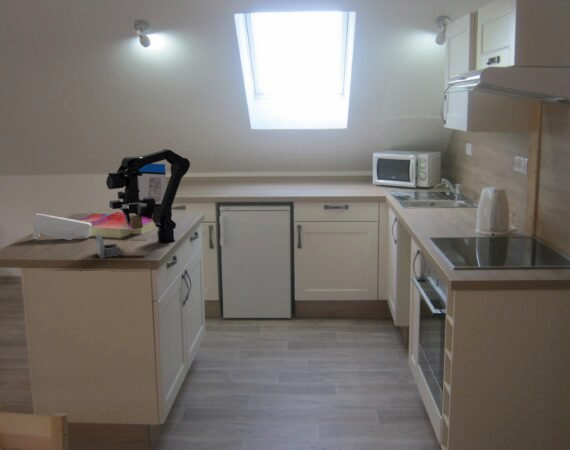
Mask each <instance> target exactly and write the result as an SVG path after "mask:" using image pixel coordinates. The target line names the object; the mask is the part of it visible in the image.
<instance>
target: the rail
mask: <svg viewBox="0 0 570 450" xmlns="http://www.w3.org/2000/svg"><path fill="white" fill-rule="evenodd" d="M129 218H130V223H128V222H127V219H126V217H125V220H126V224H128V225H129V226H130V227H132V228H133V229H137V228H143V223H142V218H141V217H139V216H138V215H136V214H135V213H130V214H129Z"/></svg>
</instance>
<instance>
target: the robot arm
mask: <svg viewBox="0 0 570 450" xmlns="http://www.w3.org/2000/svg"><path fill="white" fill-rule="evenodd" d="M161 161H167V163H169V164H170V178H169V180H168V182H167V184H166V191H165V194H164V197H163V200H162V203H161V205H160V206H159V207H155V208H154V212H153V214H152V215H153V217H152V220H153V222H154V223H155V228H157V237H156V238H157V241H158V242H159V241H160V242H159V243H160V244H164V243H165V244H166V243H174V242H176V239H175V235H174V234H175V232H174V229H176V226H177V223H176V222H175V221H174V220H173V219H172V216H173V213H172V211H173V210H172V207H173V204H174V201H175V198H176V195H177V192H178V190H179V187H180V184H181V181H182V178H183V177H184V176H185V175H186V174H187V172H188V171H189V169H190V166H191V162H190V160H189V159H188V158H186V157H183V156H181V155H179V154H177V153H176V152H174V151H173V150H171V149H167V148H164V149H162V150H158V151H156V152H152V153H148V154H145V155H141V156H125V157H124V158H122V160H121V163H120V166H119V168H118V169H117V171H116V172H109V173H107V174H108V176H107V178H106V187H107V188H108V190H117V189H124V191H122V190H121V191H118V192H117V199H115V200H110V201H109V204H108V205H109V208H110V209H112V210H117V209H118V210H120V211H121V212H122V213H124V215H125V217H126V219H127V222H128V223H130V218H129V205H137V207H138V216H139V217H142V214H143V212H144V210H145V208H148V206H146V205H147V204H148V205H149V206H150V205H156V201H155V199H154V198H151V197H147V198H143V200H140V199H139V192H140V190H139V185H138V176H142V175H143V174H142V173H140V172H139V169H141V168H143V167H144V166H145V165H148V164H156V163H157V162H161ZM126 170H127V171H126ZM121 200H122V201H121Z"/></svg>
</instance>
